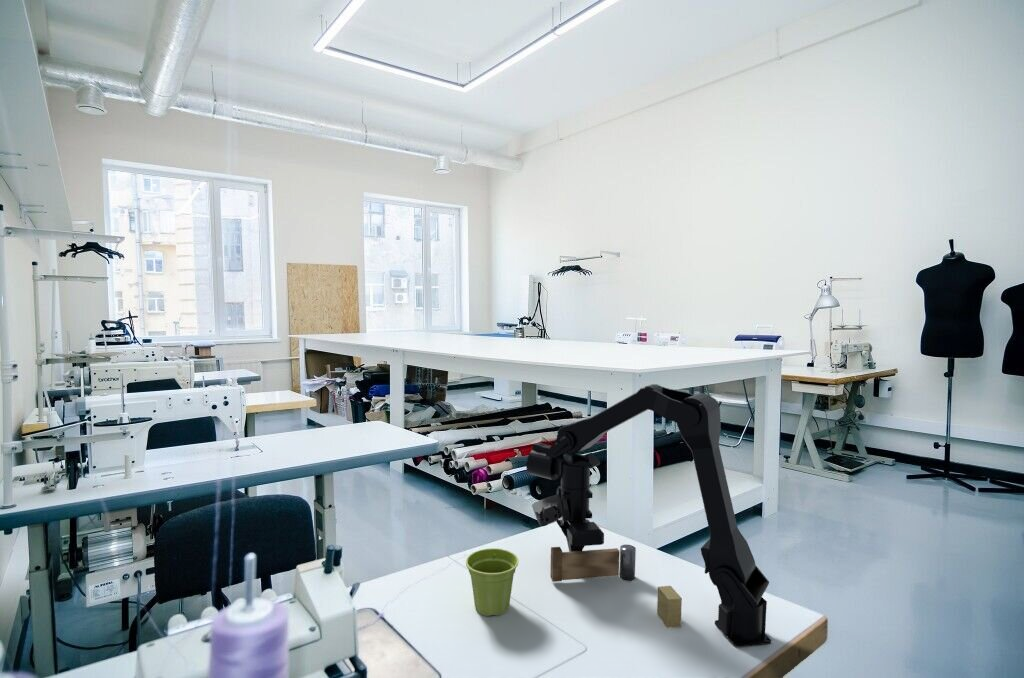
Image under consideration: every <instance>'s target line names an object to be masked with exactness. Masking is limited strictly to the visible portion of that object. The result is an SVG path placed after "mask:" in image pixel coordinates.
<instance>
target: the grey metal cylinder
mask: <svg viewBox="0 0 1024 678" xmlns="http://www.w3.org/2000/svg"><path fill="white" fill-rule="evenodd" d="M619 547H620V548H619V579H621V580H622V581H624V580H625V581H626V582H631V581H632V580H633V581H634V580H635V579H636V558H637V557H636V556H637V555H636V550H637V548H636V547H635V546H634V545H631V544H622V545H620V546H619ZM633 581H632V582H633Z"/></svg>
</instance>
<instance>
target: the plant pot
mask: <svg viewBox="0 0 1024 678" xmlns="http://www.w3.org/2000/svg"><path fill="white" fill-rule="evenodd" d="M519 562H520V561H519V558H518V556H517V555H516V554H515V553H513V552H511V550H510V551H509V550H507V549H504V548H494V547H491V548H490V547H489V548H482V549H479V550H476V551H474V552H472V553H470V554H469V555H468V556H467V557H466V558H465V565H466V568H467V569H468V573H469V575H470V579H471V587H472V595H473V603H474V607H475V610H476V612H478V613H479V614H481V615H483V616H486V617H489V616H491V615H495V616H497V617H498V616H501V615H503V614H505V613H507V611H508V610H509V608H510V602H511V595H512V591H513V590H512V589H513V582H514V575H515V574H516V568H518V566H519Z"/></svg>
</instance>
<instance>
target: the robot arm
mask: <svg viewBox="0 0 1024 678" xmlns="http://www.w3.org/2000/svg"><path fill="white" fill-rule="evenodd" d="M648 410H650V411H652V412H654V413H655V414H656V415H659V416H660V417H661V418H664V419H666V420H669V421H671V422H674V423H676V426H677V429H678V431H679V433H680V436H681V437H682V439H683V441H684V443H686V445H687V446H688V448H689V449H690V451H691V454H692V458H693V462H694V467H695V472H696V478H697V481H698V485H699V486H698V487H699V490H700V495H701V498H702V503H703V507H704V512H705V517H706V521H707V526H708V530H709V539H708V540H707V541H705V543H704V544H702V547H700V552H701V553H700V554H701V556H702V559H703V561H704V574H706V575H707V574H708V575H709V576H708V577H709V579H710V581H711V582H712V585H714V586H715V587H716V588H717V592H718V595H719V598H720V602H721V603H719V604H718V613H717V614H718V618H717V619H716V620H714V625H715V626H716V628H717V629H719V630H720V632H721V633H722V634H723V635H724V636H725V637H726V638H727V639H728V641H729V642H731V644H732V645H733V646H734V647H736V648H743V647H752V646H761V645H762V646H763V645H769V644H772V639H771V638H770V637H769V636H768V634H766V625H767V624H766V621H767V608H768V607H767V606H768V605H767V604H768V601H767V600H766V599H764V597H763V596H764V594H765V592H766V590H767V588H768V586H769V585H770V580H769V579H768V578H767V577H766V576H765V575H764V574H763V572H762V571H761V569H759V567H758V566H757V564H756V560H755V558H754V555H753V553H752V551H751V548H750V546H749V544H748V542H747V539H746V538H745V537H744V536H743V534H742V533H741V531H740V530H739V528H738V524H737V520H736V515H735V510H734V507H733V506H734V505H733V502H732V498H731V495H730V494H731V493H730V490H729V488H730V487H729V485H728V481H727V480H728V479H727V475H726V472H725V471H726V470H725V467H724V464H723V457H722V453H721V450H720V438H721V437H720V436H721V426H722V423H721V421H722V420H721V407H720V404H719V402H718V401H717V399H716V398H714V397H712V396H711V395H710V394H707V393H704V392H703V393H699V392H698V393H696V394H693V393H691V392H690V393H689V392H686V391H682V390H676V389H673V388H672V389H671V388H668V387H664V386H662V385H660V384H655V383H652V384H650V385H649V384H648V385H646V386H642V387H641V388H640V389H638V390H637V391H636V392H634V393H633V394H631V395H628V396H626V398H623V399H622V400H620V401H618V402H616V403H615V404H613V405H611V406H610V407H608V408H606V409H604V410H602V411H600V412H598V413H596V414H595V415H593V416H591V417H587V418H583V419H581V420H577V421H575V422H572V423H569V424H566V425H563V426H561V427H560V428H559V429H558V430H557V432H556V433H557V434H556V439H555V440H554V442H553V443H552V445H548V444H545V443H542V442H535V443H533V444H532V446H531V447H532V449H531V451H530V452H529V454H528V457H527V460H526V462H525V467H526V468H525V469H526V471H527V473H528V474H530V475H532V476H535V477H540V478H544V479H548V480H551V481H556V480H557V479H559V477H560V485H558V487H557V488H556V494H553V495H551V496H547V497H545V498H543V499H540V500H537V501H535V502H533V503H532V505H531V507H532V510H533V512H534V515H535V518H536V520H537V523H538V524H539V526H540V527H545V526H548V525H550V524H553V523H555V522H556V524H557V525H558V527H559V528H560V530H561V532H562V534H563V535H564V536H565V539H566V542H567V543H566V544H567V547H568V552H573V551H584V548H585V547H589V546H590V547H591V546H600V545H604V544H605V532H604V531H603V530H602V529H601V528H600V526H599V525H598V524H597V523H596V522H595V521H590V520H589V519H593V512H592V511H591V510H590V499H593V492H592V491H591V490H590V487H591V486H590V478H591V476H590V475H591V473H590V472H591V469H593V468H595V467H597V466H599V465H600V464H601V461H600V459H598V457H596V456H595V455H594V453H593V452H589V453H587V454H585V455H584V454H580V452H582V451H585V450H587V449H589V448H592V446H594V445H595V444H597V442H598V441H599V440H601V439H602V438H603V436H604V435H606V434H607V433H608V432H609V431H611V430H613V429H615V428H616V427H619V426H620V425H623V424H624V423H626V422H628V421H629V420H631V419H633V418H635V417H637V416H639V415H641V414H643V413H645V412H647V411H648ZM566 454H567V455H566Z"/></svg>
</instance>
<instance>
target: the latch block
mask: <svg viewBox="0 0 1024 678" xmlns="http://www.w3.org/2000/svg"><path fill="white" fill-rule="evenodd" d="M682 601H683V599H682V597H681V596H680V594H679V593H677V591H676V590H675V589H674V587H673V586H672V585H664V586H663V585H662V586H661V585H660V586H657V603H656V607H657V608H656V615H657V616H658V617H659V619H660V620H661V622H662V623H663V625H664V626H665V627H666V628H667V629H672V628H680V627H681V626H682V625H681V624H682V603H683V602H682Z"/></svg>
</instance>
